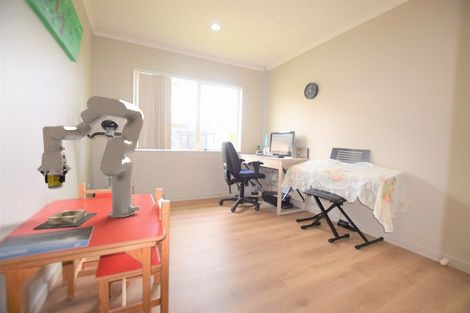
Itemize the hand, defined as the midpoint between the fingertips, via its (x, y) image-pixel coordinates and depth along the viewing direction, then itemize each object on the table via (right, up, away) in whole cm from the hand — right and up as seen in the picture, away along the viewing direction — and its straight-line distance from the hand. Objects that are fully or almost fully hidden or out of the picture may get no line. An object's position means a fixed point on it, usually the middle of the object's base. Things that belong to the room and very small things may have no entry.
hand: (55, 182), depth 113 cm
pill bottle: (0, -3, 0) cm, 3 cm away
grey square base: (+14, -18, -9) cm, 25 cm away
